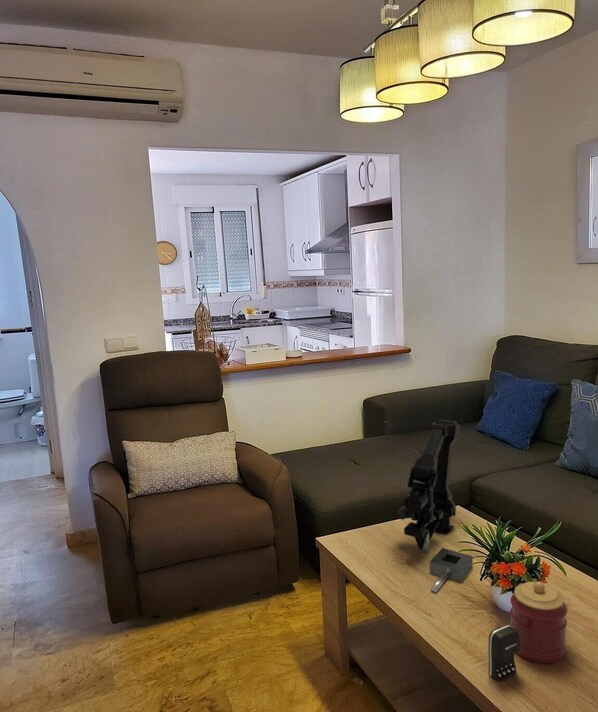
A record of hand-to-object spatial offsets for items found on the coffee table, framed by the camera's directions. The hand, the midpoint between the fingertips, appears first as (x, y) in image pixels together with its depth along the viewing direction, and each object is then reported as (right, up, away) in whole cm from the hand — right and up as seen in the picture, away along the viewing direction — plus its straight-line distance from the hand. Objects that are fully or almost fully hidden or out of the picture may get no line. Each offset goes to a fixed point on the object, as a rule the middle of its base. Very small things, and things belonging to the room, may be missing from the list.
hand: (424, 545), depth 194 cm
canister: (+18, -10, -48) cm, 52 cm away
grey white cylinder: (0, -2, 0) cm, 2 cm away
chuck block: (+3, -5, -16) cm, 17 cm away
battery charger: (+7, -12, -57) cm, 59 cm away
